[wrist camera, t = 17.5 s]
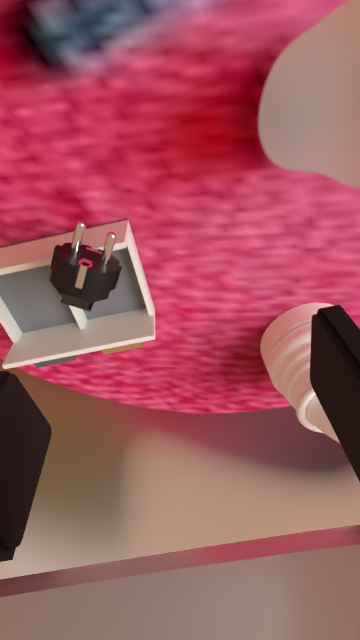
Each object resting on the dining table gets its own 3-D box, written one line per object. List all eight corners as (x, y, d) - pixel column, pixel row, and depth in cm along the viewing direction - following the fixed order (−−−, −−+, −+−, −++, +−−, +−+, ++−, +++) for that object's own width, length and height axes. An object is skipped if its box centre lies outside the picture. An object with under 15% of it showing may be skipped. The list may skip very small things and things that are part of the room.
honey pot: (265, 305, 44) (320, 420, 30) (362, 299, 45) (464, 409, 30) (255, 376, 52) (296, 495, 37) (339, 370, 52) (411, 486, 38)
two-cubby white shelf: (-30, 253, 38) (-58, 281, 33) (128, 218, 36) (124, 241, 31) (21, 335, 44) (4, 369, 39) (154, 308, 43) (155, 339, 38)
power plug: (70, 262, 39) (34, 310, 28) (86, 195, 35) (52, 222, 25) (118, 278, 40) (102, 330, 29) (138, 215, 36) (127, 249, 26)
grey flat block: (41, 340, 45) (32, 360, 42) (77, 332, 45) (71, 352, 42) (44, 346, 46) (36, 367, 43) (80, 339, 45) (75, 360, 42)
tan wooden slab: (104, 327, 45) (100, 347, 41) (141, 319, 44) (140, 339, 41) (107, 334, 45) (103, 354, 42) (143, 326, 45) (143, 346, 42)
